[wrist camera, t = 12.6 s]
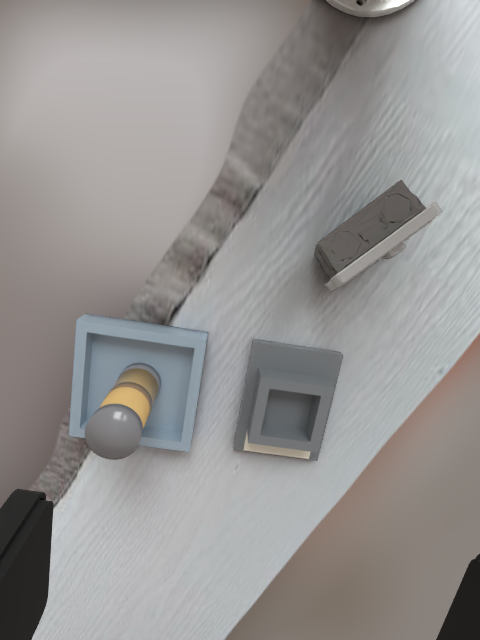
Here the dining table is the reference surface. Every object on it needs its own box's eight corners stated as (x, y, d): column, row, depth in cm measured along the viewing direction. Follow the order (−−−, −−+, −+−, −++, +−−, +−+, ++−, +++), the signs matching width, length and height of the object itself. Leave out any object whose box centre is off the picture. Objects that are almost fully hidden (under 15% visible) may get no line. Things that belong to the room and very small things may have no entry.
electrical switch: (328, 291, 40) (350, 306, 31) (297, 248, 39) (310, 250, 30) (410, 232, 38) (459, 228, 29) (379, 186, 38) (419, 168, 29)
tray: (85, 313, 40) (76, 320, 37) (208, 332, 40) (206, 339, 38) (77, 423, 43) (68, 435, 40) (192, 438, 43) (189, 452, 41)
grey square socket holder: (252, 338, 41) (254, 350, 37) (340, 352, 41) (350, 365, 38) (233, 444, 44) (233, 463, 40) (315, 455, 44) (322, 475, 41)
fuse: (121, 359, 40) (86, 407, 31) (163, 366, 41) (142, 415, 31) (117, 398, 41) (82, 455, 32) (158, 404, 42) (136, 462, 32)
